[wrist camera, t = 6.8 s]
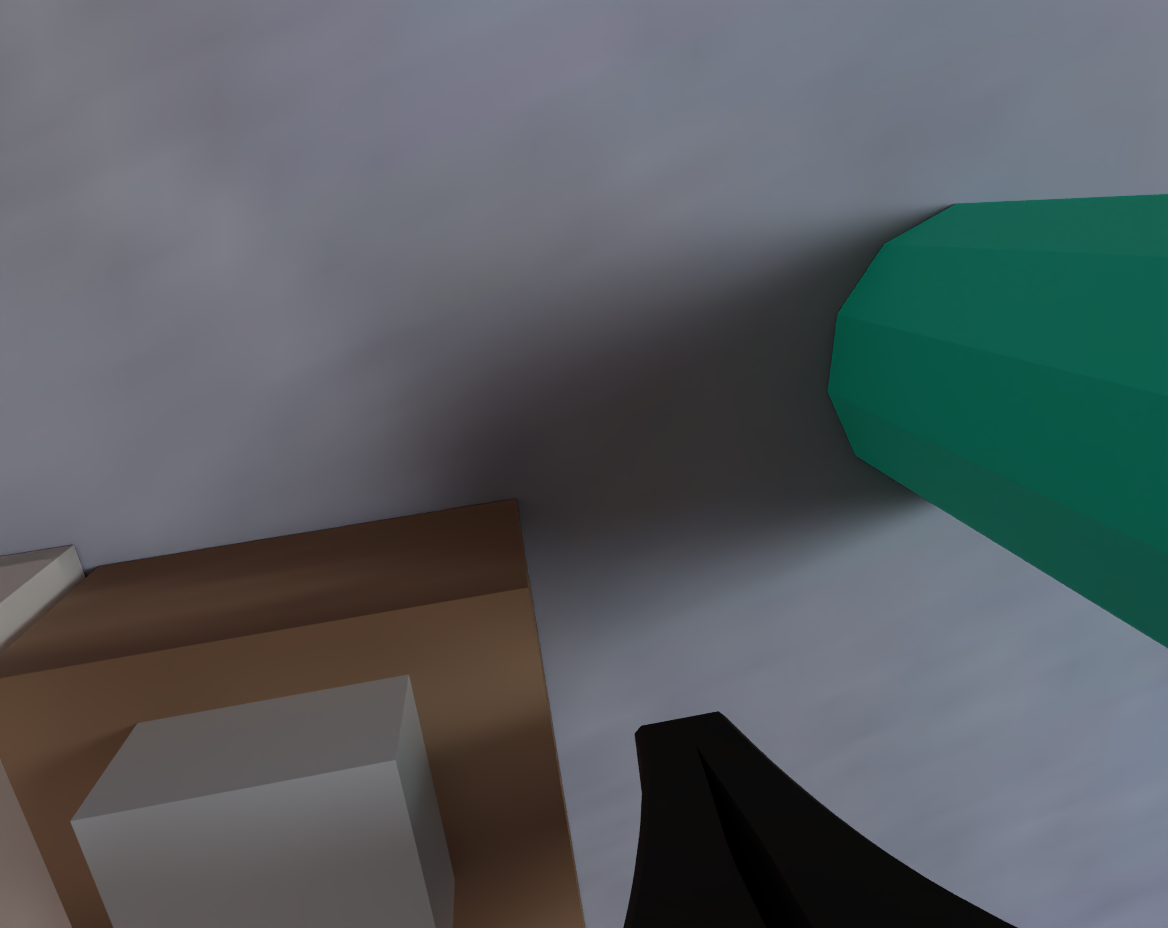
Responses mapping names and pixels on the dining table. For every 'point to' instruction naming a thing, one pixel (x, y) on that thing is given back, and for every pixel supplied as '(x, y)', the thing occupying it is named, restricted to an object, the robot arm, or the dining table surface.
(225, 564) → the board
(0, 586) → the tray
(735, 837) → the robot arm
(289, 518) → the dining table surface
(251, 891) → the grey rectangular prism
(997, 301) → the candle
